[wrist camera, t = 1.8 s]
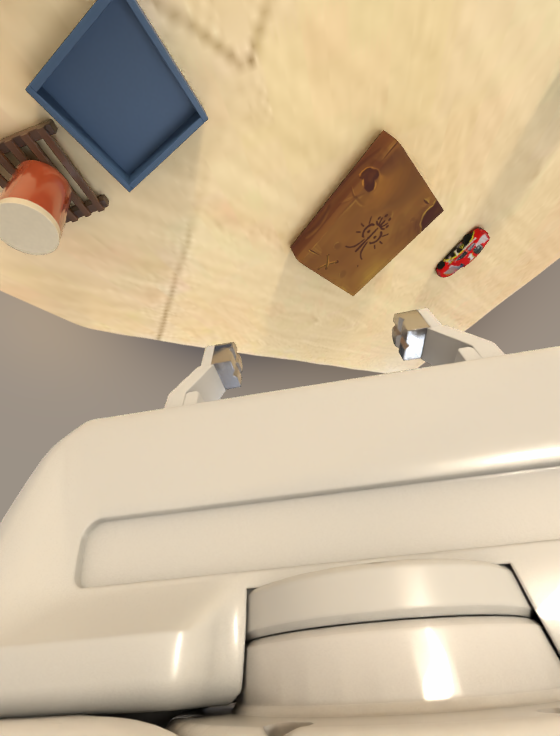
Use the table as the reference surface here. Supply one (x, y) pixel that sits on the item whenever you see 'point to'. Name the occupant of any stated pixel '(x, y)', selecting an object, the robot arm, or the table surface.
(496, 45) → the table surface
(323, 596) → the robot arm
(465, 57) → the table surface
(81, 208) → the drying rack
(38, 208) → the cup
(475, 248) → the race car
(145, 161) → the tray
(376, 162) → the diary
